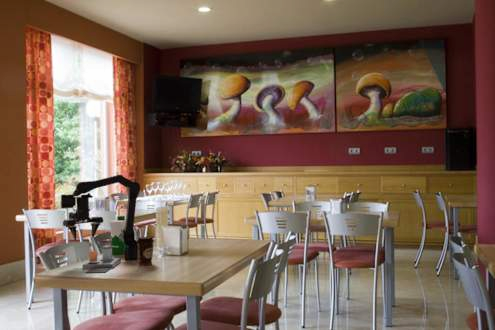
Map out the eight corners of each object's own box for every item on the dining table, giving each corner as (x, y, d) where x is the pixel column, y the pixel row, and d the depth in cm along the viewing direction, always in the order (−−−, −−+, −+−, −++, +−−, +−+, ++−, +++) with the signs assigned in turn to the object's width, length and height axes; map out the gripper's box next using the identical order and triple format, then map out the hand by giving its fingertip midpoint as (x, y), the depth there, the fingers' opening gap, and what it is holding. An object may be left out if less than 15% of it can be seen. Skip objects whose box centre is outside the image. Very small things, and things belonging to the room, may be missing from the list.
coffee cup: (158, 263, 264) (157, 236, 264) (149, 266, 256) (148, 239, 256) (142, 262, 267) (141, 236, 267) (133, 265, 259) (132, 238, 259)
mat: (110, 268, 253) (110, 267, 253) (105, 272, 244) (105, 271, 244) (91, 269, 253) (91, 268, 253) (85, 273, 244) (85, 272, 244)
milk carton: (131, 252, 299) (130, 216, 298) (121, 255, 290) (120, 217, 290) (117, 251, 302) (116, 215, 302) (107, 254, 293) (106, 217, 293)
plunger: (98, 260, 259) (97, 251, 259) (95, 261, 256) (95, 252, 256) (90, 260, 259) (90, 251, 259) (88, 261, 256) (88, 252, 256)
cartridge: (113, 262, 268) (113, 245, 268) (111, 264, 263) (110, 247, 263) (103, 263, 268) (103, 245, 268) (100, 265, 263) (100, 247, 263)
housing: (120, 262, 270) (120, 258, 270) (112, 268, 254) (112, 264, 254) (92, 262, 270) (92, 258, 270) (82, 269, 254) (82, 264, 254)
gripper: (93, 205, 281) (94, 235, 281) (57, 208, 268) (59, 239, 268) (103, 206, 272) (104, 237, 272) (67, 209, 260) (68, 241, 260)
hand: (84, 238), depth 268 cm, fingers open, 9 cm apart
